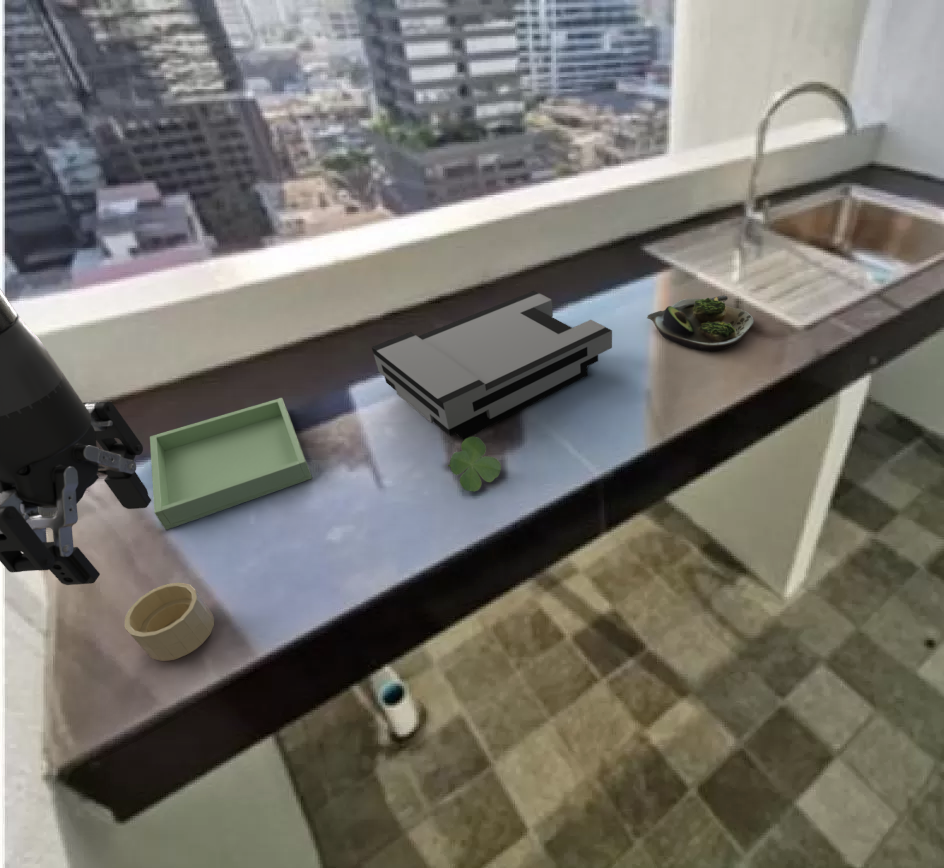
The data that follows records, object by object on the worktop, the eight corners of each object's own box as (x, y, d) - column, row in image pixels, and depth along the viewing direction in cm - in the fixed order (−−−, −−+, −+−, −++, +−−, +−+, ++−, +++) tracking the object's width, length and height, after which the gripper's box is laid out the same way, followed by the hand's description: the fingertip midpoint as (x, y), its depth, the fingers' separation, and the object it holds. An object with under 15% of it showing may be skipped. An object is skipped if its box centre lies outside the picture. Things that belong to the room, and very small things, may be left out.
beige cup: (149, 675, 60) (124, 647, 57) (147, 628, 64) (124, 600, 61) (219, 645, 63) (199, 616, 60) (213, 601, 67) (193, 573, 64)
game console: (611, 366, 104) (612, 323, 99) (453, 449, 87) (443, 403, 82) (536, 324, 116) (533, 284, 111) (383, 390, 99) (371, 346, 94)
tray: (165, 530, 75) (154, 513, 73) (159, 453, 87) (149, 436, 85) (312, 478, 83) (305, 461, 81) (288, 413, 94) (281, 397, 92)
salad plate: (689, 293, 126) (691, 272, 123) (769, 317, 117) (773, 295, 114) (637, 330, 114) (638, 308, 111) (722, 360, 105) (725, 337, 102)
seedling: (472, 497, 86) (498, 495, 82) (421, 488, 81) (446, 485, 76) (478, 448, 88) (505, 444, 83) (429, 436, 83) (454, 430, 78)
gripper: (9, 340, 48) (114, 487, 58) (-150, 457, 37) (14, 614, 47) (107, 335, 48) (194, 482, 59) (-21, 450, 37) (114, 607, 48)
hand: (114, 541), depth 53 cm, fingers open, 8 cm apart
